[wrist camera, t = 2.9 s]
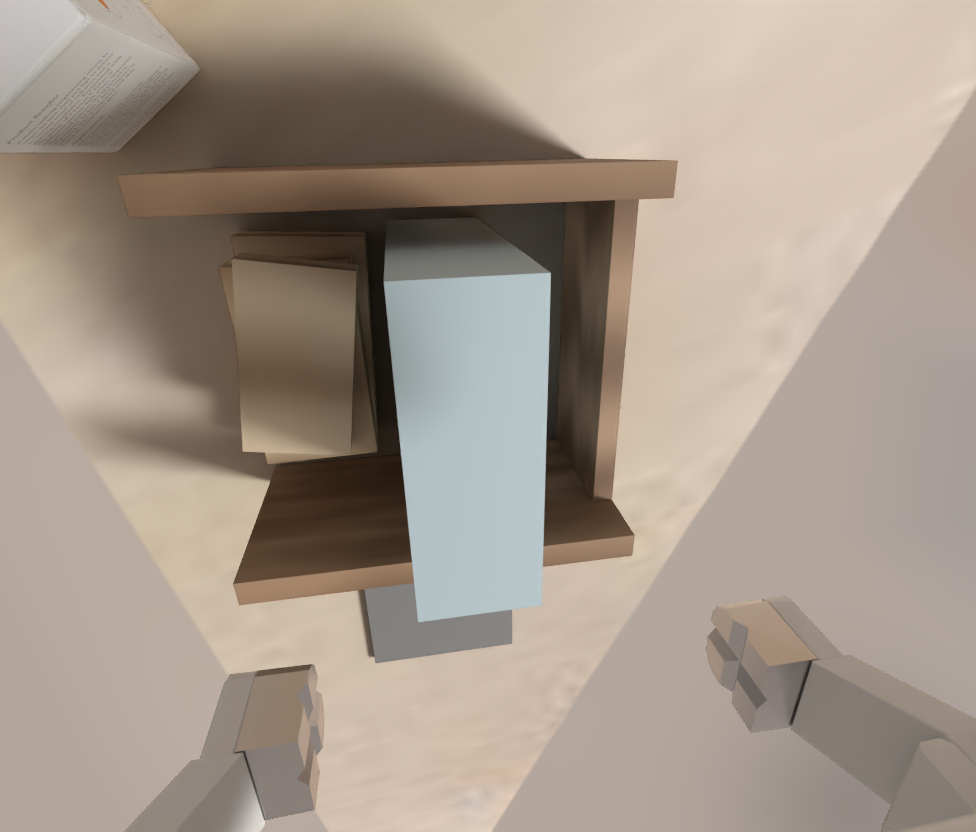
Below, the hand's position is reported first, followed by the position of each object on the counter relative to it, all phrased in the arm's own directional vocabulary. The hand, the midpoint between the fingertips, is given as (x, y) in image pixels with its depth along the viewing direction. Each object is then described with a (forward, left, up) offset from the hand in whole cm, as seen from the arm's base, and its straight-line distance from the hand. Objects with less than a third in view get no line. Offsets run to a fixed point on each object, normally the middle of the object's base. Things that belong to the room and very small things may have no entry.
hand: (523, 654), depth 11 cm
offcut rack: (0, -1, -22) cm, 22 cm away
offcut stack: (0, -7, -22) cm, 23 cm away
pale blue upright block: (0, 0, -22) cm, 22 cm away
